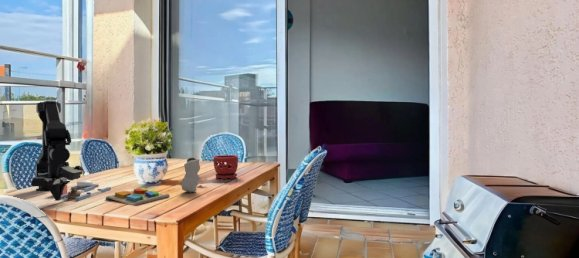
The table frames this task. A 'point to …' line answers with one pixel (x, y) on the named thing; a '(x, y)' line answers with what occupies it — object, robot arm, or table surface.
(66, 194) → the lane
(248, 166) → the table surface
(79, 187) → the dome base
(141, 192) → the shape sorting puzzle
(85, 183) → the dome
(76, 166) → the robot arm
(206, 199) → the table surface
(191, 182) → the figurine
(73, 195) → the pawn
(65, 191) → the die
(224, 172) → the plant pot
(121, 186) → the table surface
